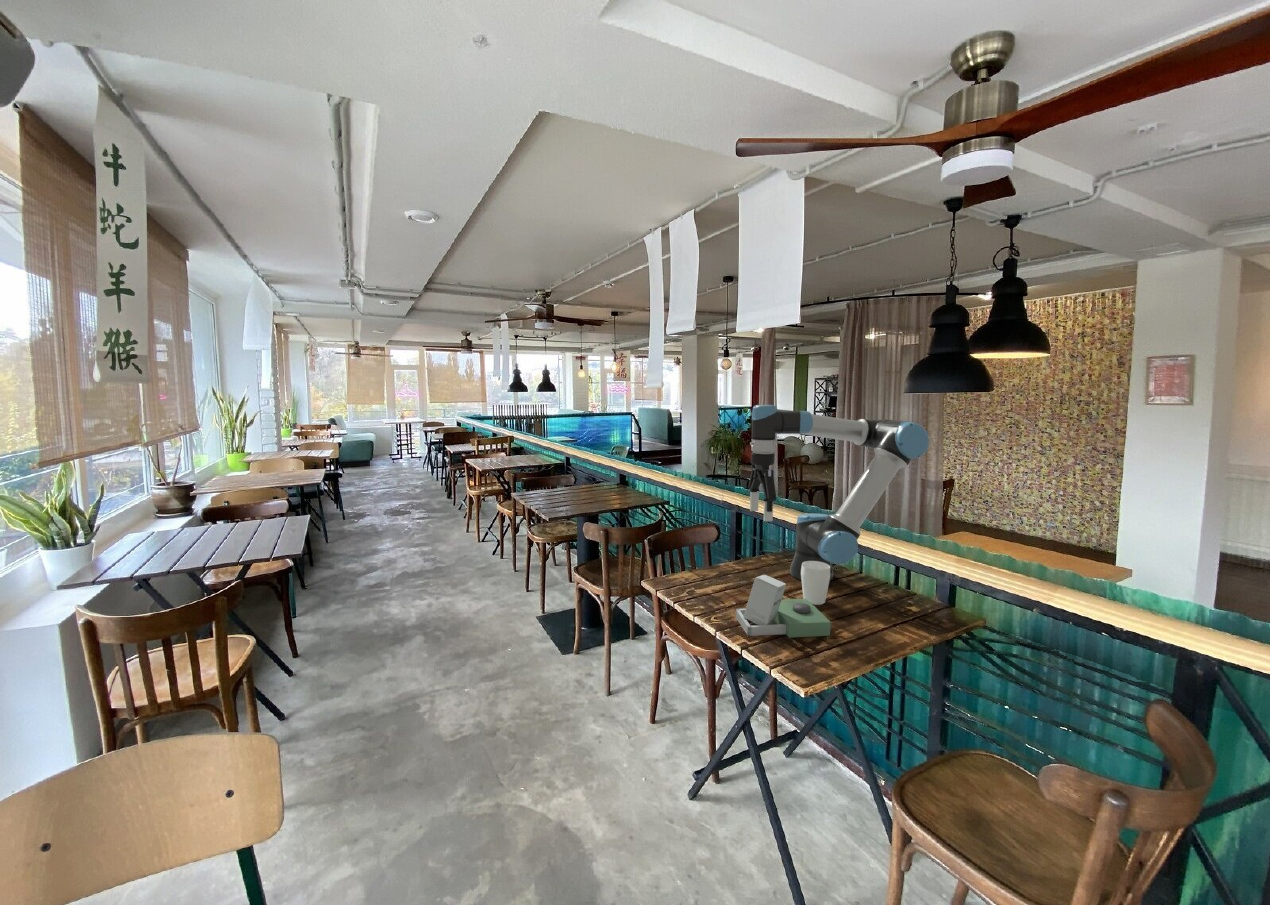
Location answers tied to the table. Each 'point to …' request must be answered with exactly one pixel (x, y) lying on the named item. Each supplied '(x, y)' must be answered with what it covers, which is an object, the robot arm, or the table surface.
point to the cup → (815, 581)
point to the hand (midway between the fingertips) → (760, 515)
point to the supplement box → (764, 600)
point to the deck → (790, 621)
